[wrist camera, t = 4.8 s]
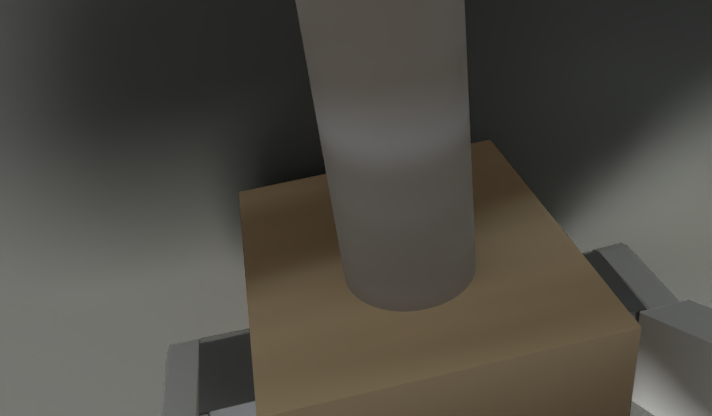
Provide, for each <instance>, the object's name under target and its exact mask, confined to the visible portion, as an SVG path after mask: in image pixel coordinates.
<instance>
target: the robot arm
mask: <svg viewBox="0 0 712 416" xmlns="http://www.w3.org/2000/svg"><path fill="white" fill-rule="evenodd" d="M582 254H583V255H584V256H585V258H586V259H587V260H588V261H589V263H590V264H591V265H592V266H593V268H594V269H595V270H596V271H597V273H598V274H599V275H600V276H601V278H602V279H603V280H604V281H605V283H606V284H607V285H608V286H609V287H610V289H611V290H612V291H613V292H614V294H615V295H616V296H617V297H618V299H619V300H620V301H621V302H622V304H623V305H624V306H625V307H626V309H627V310H628V311H629V312H630V314H631V315H632V316H633V317H634V319H635V320H636V321H637V322H638V323H639V325H640V326H641V334H640V341H639V349H638V356H637V364H636V371H635V379H634V386H633V394H632V401H633V402H634V403H636V404H637V405H639V406H641V407H642V408H644V409H645V410H647V411H648V412H650V413H651V414H653V415H655V416H712V309H711V308H709V307H706V306H703V305H701V304H698V303H696V302H693V301H690V300H687V301H683V302H680V301H679V300H678V299H677V298H676V297H675V295H674V294H673V293H672V292H671V291H670V290H669V289H668V288H667V287H666V286H665V285H664V284H663V283H662V282H661V281H660V280H659V278H658V277H657V276H656V275H655V274H654V273H653V272H652V271H651V270H650V269H649V268H648V267H647V266H646V265H645V264H644V262H643V261H642V260H641V259H640V258H639V257H638V256H637V255H636V254H635V253H634V252H633V251H632V250H631V249H630V248H629V247H628V246H627V245H625V244H623V243H619V244H614V245H610V246H606V247H602V248H598V249H594V250H592V251H588V252H584V253H582ZM162 416H256V404H255V391H254V378H253V366H252V353H251V341H250V328H249V329H244V330H239V331H234V332H229V333H224V334H219V335H214V336H209V337H204V338H201V339H197V340H192V341H187V342H183V343H178V344H173V345H169V348H168V350H167V352H166V362H165V375H164V389H163V403H162Z"/></svg>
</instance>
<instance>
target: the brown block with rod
mask: <svg viewBox="0 0 712 416" xmlns="http://www.w3.org/2000/svg"><path fill="white" fill-rule="evenodd" d="M295 2H296V8H297V13H298V19H299V24H300V30H301V36H302V41H303V47H304V52H305V58H306V64H307V69H308V75H309V80H310V86H311V91H312V97H313V103H314V108H315V114H316V119H317V125H318V130H319V136H320V142H321V147H322V153H323V158H324V164H325V169H326V174H322V175H318V176H313V177H308V178H303V179H298V180H294V181H289V182H284V183H279V184H274V185H270V186H265V187H260V188H255V189H250V190H246V191H241V192H239V202H240V214H241V227H242V240H243V252H244V265H245V278H246V290H247V303H248V315H249V328H250V341H251V353H252V366H253V378H254V391H255V404H256V416H630V409H631V401H632V394H633V386H634V379H635V371H636V364H637V356H638V349H639V341H640V334H641V326H640V325H639V323H638V322H637V321H636V320H635V319H634V317H633V316H632V315H631V314H630V312H629V311H628V310H627V309H626V307H625V306H624V305H623V304H622V302H621V301H620V300H619V299H618V297H617V296H616V295H615V294H614V292H613V291H612V290H611V289H610V287H609V286H608V285H607V284H606V283H605V281H604V280H603V279H602V278H601V276H600V275H599V274H598V273H597V271H596V270H595V269H594V268H593V266H592V265H591V264H590V263H589V261H588V260H587V259H586V258H585V256H584V255H583V254H582V253H581V252H580V250H579V249H578V248H577V247H576V245H575V244H574V243H573V242H572V240H571V239H570V238H569V237H568V235H567V234H566V233H565V232H564V230H563V229H562V228H561V227H560V225H559V224H558V223H557V222H556V221H555V219H554V218H553V217H552V216H551V214H550V213H549V212H548V211H547V209H546V208H545V207H544V206H543V204H542V203H541V202H540V201H539V199H538V198H537V197H536V196H535V194H534V193H533V192H532V191H531V190H530V188H529V187H528V186H527V185H526V183H525V182H524V181H523V180H522V178H521V177H520V176H519V175H518V173H517V172H516V171H515V170H514V168H513V167H512V166H511V165H510V163H509V162H508V161H507V160H506V159H505V157H504V156H503V155H502V154H501V152H500V151H499V150H498V149H497V147H496V146H495V145H494V144H493V142H492V141H491V140H485V141H480V142H476V143H471V138H470V115H469V92H468V69H467V46H466V23H465V0H295Z"/></svg>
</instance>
